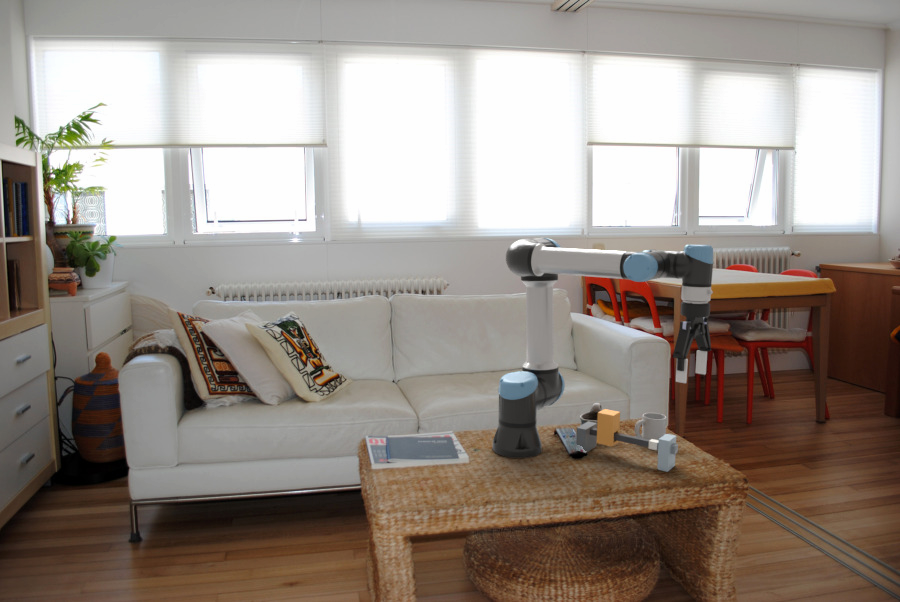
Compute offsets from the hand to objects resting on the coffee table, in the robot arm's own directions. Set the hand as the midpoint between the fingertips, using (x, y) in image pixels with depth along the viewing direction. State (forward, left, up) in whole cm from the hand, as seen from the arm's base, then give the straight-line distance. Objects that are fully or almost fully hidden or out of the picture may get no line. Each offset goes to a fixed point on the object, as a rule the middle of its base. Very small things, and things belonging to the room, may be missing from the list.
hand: (691, 377), depth 183 cm
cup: (-17, +18, -28) cm, 37 cm away
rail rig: (-18, +1, -27) cm, 33 cm away
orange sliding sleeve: (-24, +1, -24) cm, 34 cm away
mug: (-34, +14, -28) cm, 46 cm away
